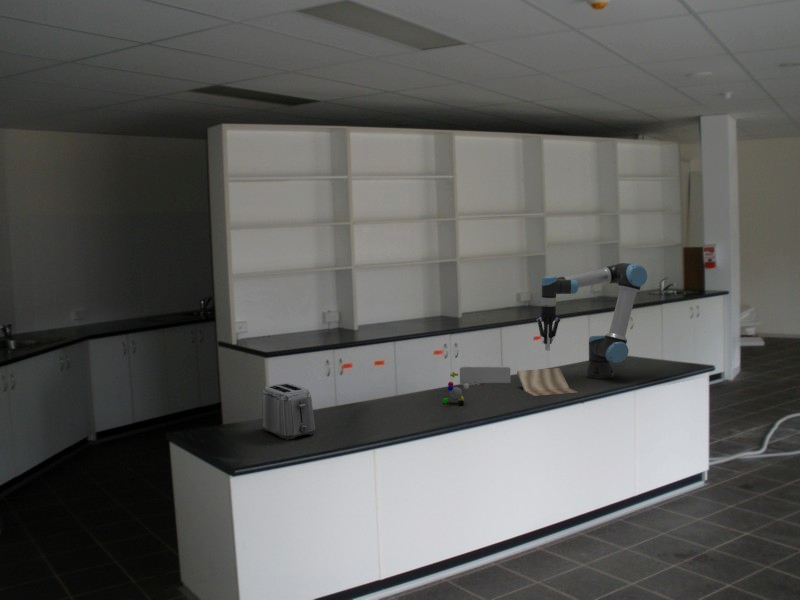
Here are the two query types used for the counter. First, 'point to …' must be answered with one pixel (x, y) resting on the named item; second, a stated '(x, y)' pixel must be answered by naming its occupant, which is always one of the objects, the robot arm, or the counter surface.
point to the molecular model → (456, 393)
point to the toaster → (287, 411)
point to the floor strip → (552, 392)
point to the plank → (542, 379)
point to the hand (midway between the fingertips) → (547, 350)
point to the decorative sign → (483, 374)
